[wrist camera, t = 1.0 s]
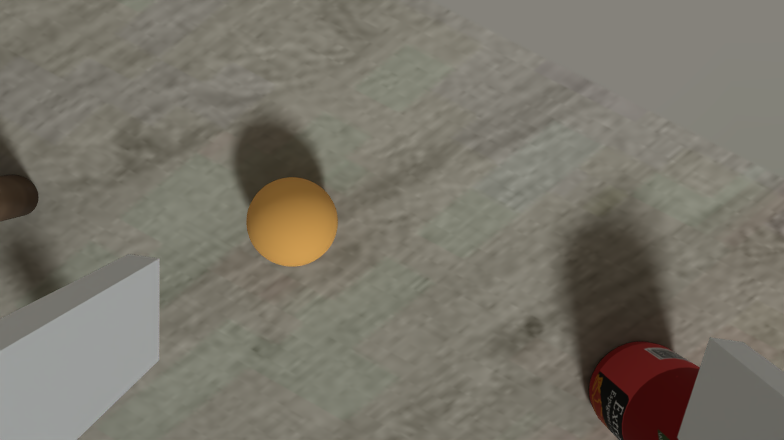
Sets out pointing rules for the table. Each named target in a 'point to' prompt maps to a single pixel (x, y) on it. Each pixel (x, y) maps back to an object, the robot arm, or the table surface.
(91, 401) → the robot arm
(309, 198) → the ball
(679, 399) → the canned food
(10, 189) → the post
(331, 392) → the table surface
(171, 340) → the table surface
